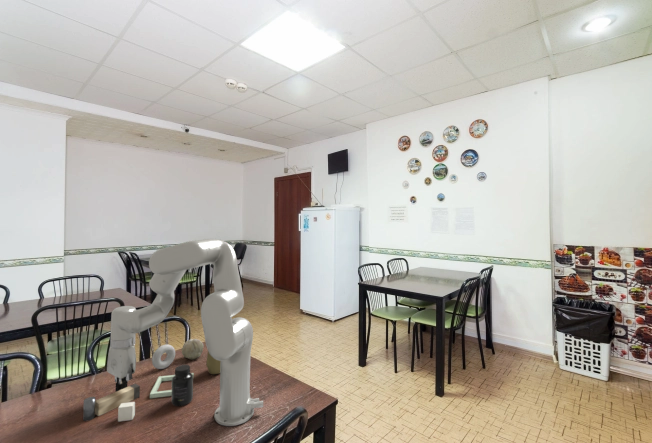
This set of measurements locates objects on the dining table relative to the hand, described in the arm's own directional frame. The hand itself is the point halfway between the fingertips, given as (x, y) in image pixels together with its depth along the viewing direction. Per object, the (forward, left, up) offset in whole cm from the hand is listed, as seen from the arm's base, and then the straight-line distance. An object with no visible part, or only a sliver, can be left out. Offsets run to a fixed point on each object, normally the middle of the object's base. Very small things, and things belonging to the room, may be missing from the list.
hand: (121, 392), depth 111 cm
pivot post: (+6, +10, -2) cm, 12 cm away
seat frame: (-16, -4, -2) cm, 17 cm away
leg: (0, +4, -2) cm, 5 cm away
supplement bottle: (-21, +7, -2) cm, 23 cm away
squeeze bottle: (-31, -13, -2) cm, 34 cm away
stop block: (-6, +13, -2) cm, 15 cm away
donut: (-9, -21, -2) cm, 23 cm away
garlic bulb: (-19, -29, -2) cm, 35 cm away
